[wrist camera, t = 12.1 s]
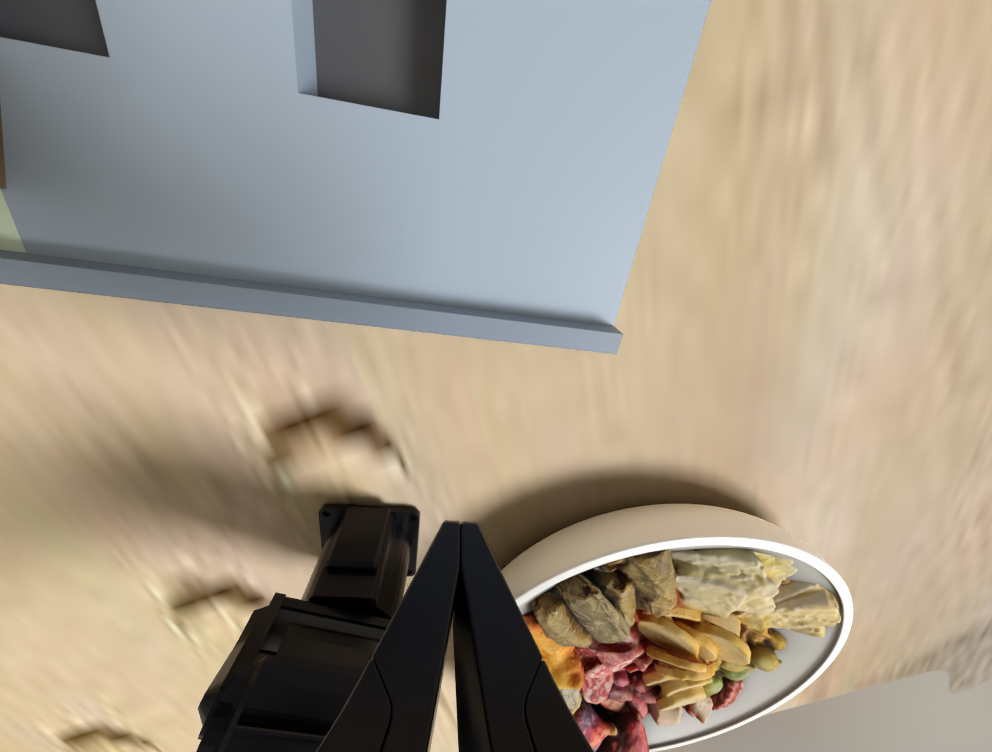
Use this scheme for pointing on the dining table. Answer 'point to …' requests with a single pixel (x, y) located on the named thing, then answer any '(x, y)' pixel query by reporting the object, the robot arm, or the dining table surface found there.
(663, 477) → the dining table surface
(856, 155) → the dining table surface
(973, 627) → the dining table surface
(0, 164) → the block
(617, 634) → the bowl
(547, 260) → the light blue slotted tray
